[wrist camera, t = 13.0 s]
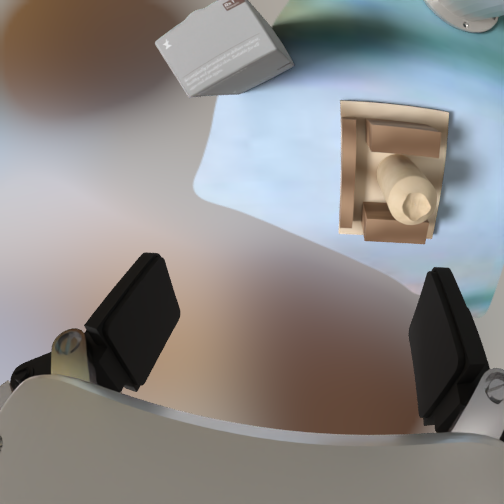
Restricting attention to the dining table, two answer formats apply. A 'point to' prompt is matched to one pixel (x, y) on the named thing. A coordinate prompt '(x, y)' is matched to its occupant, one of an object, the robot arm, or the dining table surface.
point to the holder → (370, 156)
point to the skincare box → (223, 50)
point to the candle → (406, 190)
